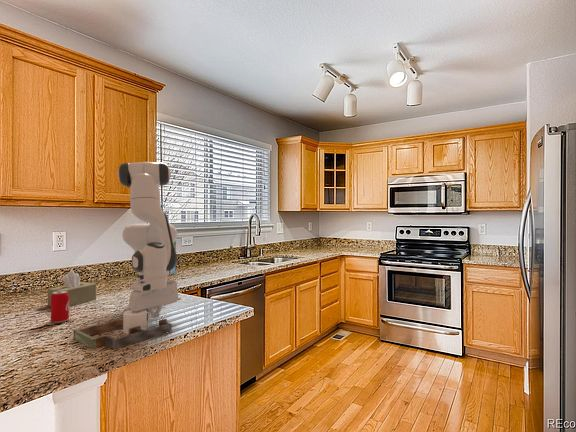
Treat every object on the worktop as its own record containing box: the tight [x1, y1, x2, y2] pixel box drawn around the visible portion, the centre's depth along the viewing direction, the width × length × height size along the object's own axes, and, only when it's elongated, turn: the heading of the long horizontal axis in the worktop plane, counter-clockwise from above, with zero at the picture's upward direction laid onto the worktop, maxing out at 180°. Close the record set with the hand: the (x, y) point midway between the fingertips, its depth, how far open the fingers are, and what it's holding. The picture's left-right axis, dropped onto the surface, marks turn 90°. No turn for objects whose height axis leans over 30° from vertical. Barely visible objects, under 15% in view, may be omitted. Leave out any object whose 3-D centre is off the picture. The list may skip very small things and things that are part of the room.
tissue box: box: [47, 269, 97, 307], centre depth 172 cm, size 19×10×16 cm, turn 160°
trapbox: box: [73, 312, 173, 350], centre depth 129 cm, size 28×20×3 cm
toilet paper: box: [122, 309, 148, 335], centre depth 135 cm, size 8×11×7 cm
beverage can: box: [50, 291, 70, 324], centre depth 143 cm, size 6×6×12 cm
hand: (154, 317), depth 141 cm, fingers closed
